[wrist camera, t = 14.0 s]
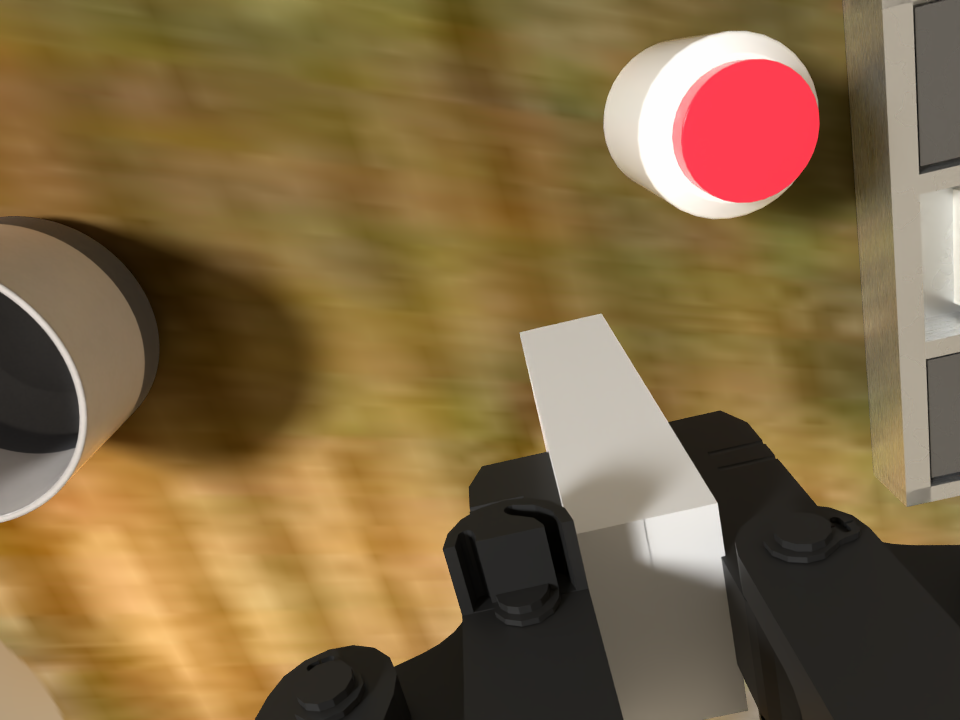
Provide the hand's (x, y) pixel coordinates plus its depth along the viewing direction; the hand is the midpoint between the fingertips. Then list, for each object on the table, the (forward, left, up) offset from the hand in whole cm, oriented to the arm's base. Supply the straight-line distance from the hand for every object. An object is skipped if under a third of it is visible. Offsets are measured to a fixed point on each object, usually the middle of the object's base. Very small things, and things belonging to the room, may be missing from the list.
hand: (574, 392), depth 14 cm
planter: (+2, -26, -30) cm, 40 cm away
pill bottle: (-1, +10, -30) cm, 31 cm away
